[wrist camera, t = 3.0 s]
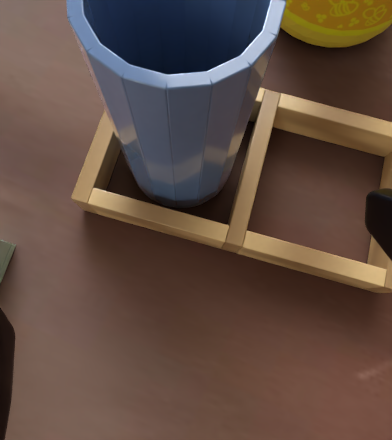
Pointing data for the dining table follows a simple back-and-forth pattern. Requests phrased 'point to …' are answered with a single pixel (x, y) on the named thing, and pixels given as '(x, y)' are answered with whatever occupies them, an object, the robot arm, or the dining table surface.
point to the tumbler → (177, 84)
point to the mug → (336, 20)
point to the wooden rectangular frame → (253, 190)
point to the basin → (5, 256)
